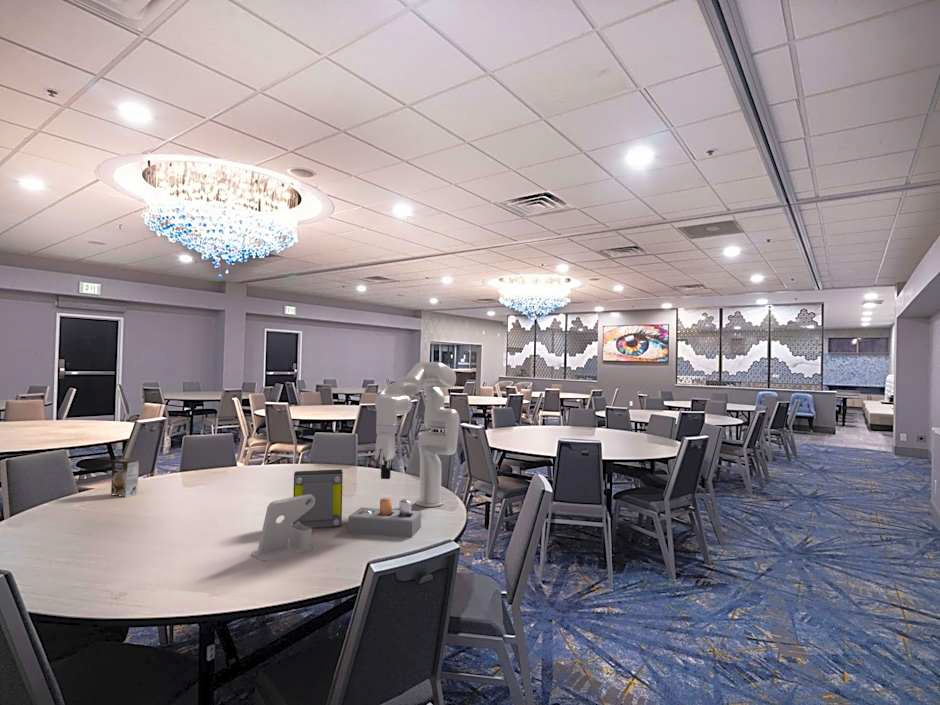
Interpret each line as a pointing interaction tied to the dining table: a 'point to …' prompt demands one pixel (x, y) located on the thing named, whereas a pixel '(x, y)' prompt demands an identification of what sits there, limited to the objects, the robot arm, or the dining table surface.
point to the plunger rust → (386, 506)
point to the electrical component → (320, 497)
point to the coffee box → (124, 477)
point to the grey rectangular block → (384, 523)
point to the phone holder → (285, 529)
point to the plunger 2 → (405, 508)
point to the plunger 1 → (366, 512)
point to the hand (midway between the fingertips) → (385, 478)
